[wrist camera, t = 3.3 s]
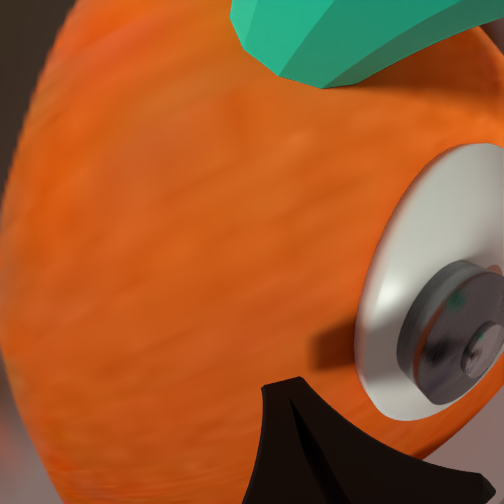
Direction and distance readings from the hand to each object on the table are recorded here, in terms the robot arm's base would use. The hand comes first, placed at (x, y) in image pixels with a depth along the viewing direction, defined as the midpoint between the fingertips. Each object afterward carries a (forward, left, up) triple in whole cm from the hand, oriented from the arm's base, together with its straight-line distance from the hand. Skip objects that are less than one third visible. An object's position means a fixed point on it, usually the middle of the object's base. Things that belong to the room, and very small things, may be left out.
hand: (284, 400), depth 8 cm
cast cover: (0, -8, -1) cm, 8 cm away
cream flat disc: (0, -12, -2) cm, 12 cm away
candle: (+13, -4, -2) cm, 14 cm away
